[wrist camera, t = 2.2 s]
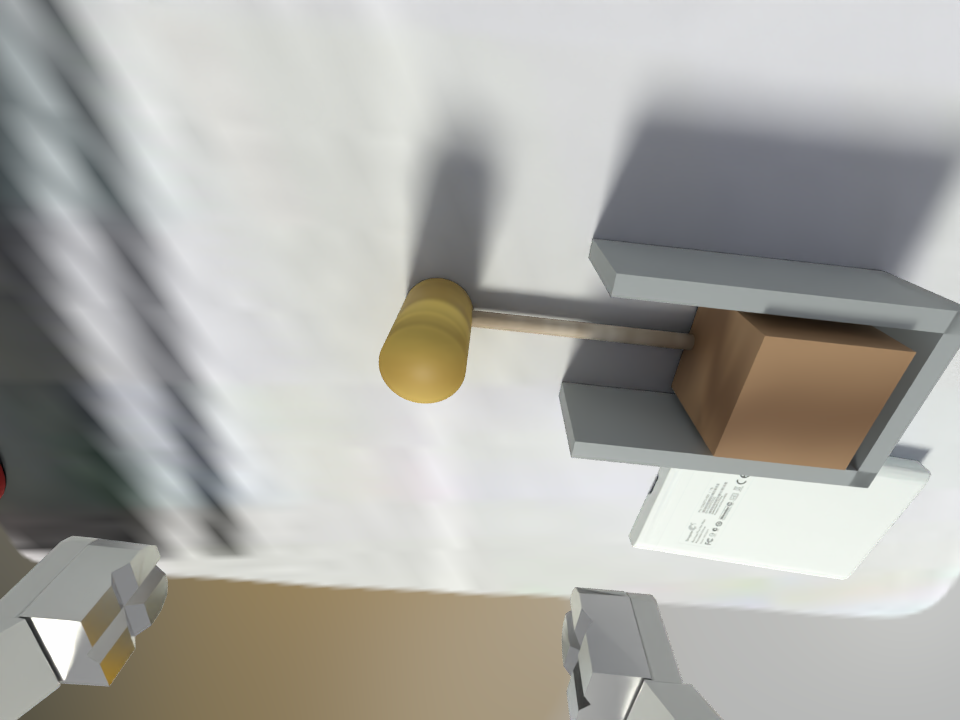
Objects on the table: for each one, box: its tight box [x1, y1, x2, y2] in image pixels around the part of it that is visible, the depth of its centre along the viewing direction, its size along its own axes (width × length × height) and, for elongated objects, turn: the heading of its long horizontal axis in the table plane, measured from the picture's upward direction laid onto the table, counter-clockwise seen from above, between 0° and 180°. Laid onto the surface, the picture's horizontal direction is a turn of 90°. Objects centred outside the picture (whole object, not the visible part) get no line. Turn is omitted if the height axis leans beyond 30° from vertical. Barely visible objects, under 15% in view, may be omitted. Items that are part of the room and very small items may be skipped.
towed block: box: [379, 278, 917, 470], centre depth 19 cm, size 5×18×5 cm, turn 84°
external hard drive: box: [629, 456, 931, 580], centre depth 25 cm, size 2×8×12 cm
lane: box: [559, 239, 960, 488], centre depth 19 cm, size 8×12×4 cm, turn 84°
